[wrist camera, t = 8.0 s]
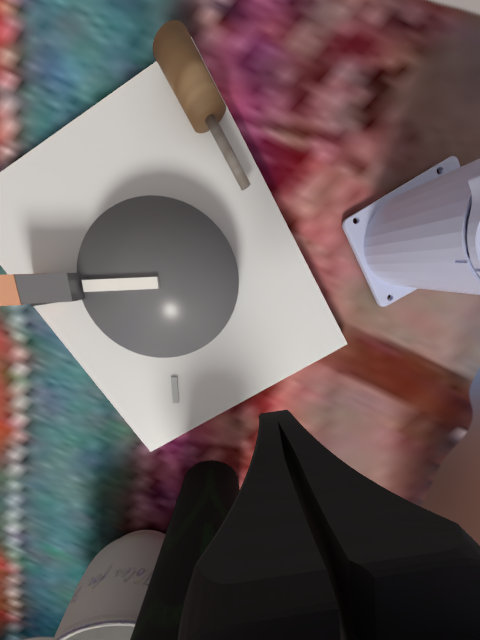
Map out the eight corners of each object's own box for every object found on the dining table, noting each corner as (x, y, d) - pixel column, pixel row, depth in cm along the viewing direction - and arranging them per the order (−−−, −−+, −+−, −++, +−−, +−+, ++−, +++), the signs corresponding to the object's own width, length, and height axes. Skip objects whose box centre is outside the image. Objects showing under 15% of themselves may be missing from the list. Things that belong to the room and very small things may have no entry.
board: (194, 53, 16) (190, 33, 15) (341, 339, 21) (348, 344, 20) (-29, 210, 18) (-51, 205, 16) (154, 442, 23) (149, 453, 21)
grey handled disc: (234, 200, 17) (235, 184, 14) (241, 346, 19) (243, 360, 16) (14, 208, 16) (-36, 194, 13) (48, 355, 19) (12, 372, 16)
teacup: (166, 496, 24) (135, 607, 16) (217, 565, 26) (210, 691, 18) (53, 548, 25) (-28, 676, 17) (111, 610, 27) (62, 748, 19)
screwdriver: (153, 69, 15) (151, 25, 13) (186, 58, 15) (189, 15, 13) (227, 202, 17) (236, 185, 14) (253, 188, 17) (267, 169, 15)
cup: (157, 479, 23) (82, 689, 12) (216, 437, 23) (199, 618, 11) (206, 525, 25) (182, 753, 13) (263, 488, 24) (293, 695, 12)
